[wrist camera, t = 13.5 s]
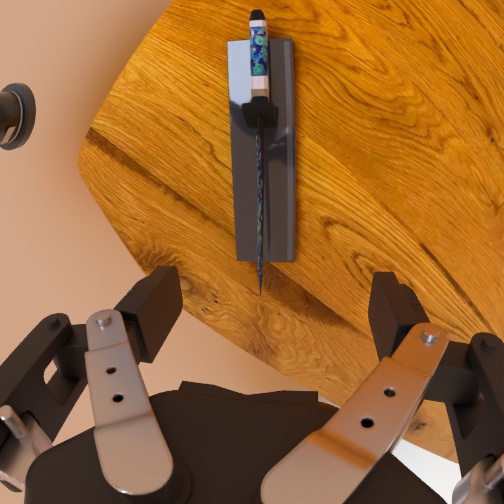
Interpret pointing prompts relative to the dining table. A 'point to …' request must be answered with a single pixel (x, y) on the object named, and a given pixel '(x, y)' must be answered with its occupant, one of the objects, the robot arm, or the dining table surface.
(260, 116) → the knife
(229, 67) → the slate board
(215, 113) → the dining table surface
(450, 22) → the dining table surface
